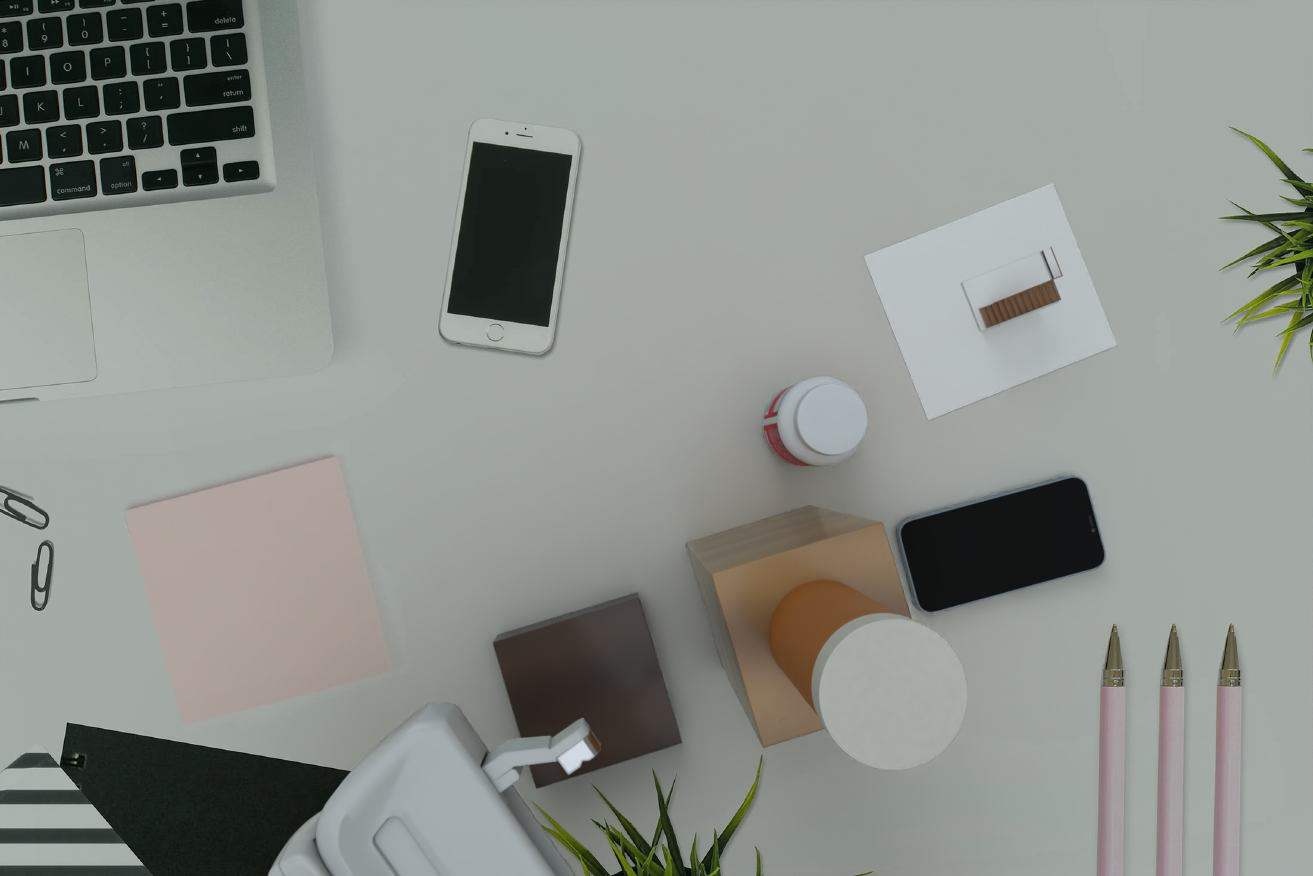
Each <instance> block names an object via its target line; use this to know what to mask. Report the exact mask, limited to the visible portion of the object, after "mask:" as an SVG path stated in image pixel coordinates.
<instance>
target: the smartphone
mask: <svg viewBox="0 0 1313 876" xmlns="http://www.w3.org/2000/svg"><path fill="white" fill-rule="evenodd" d="M895 533H896V534H895V535H896V539H897V543H898V547H899V551H900V554H901V559H902V562H903V566H904V570H905V573H906V577H907V580H908V585H909V589H910V592H911V596H912V599H913V602H914V605H915V606H916V607H917V609H919V610H920V611H922V612H924V613H926V614H937V613H941V612H944V611H948V610H951V609H955V608H956V609H957V608H959V607H963V606H967V605H970V604H973V603H977V602H982V601H985V600H989V599H992V598H996V597H999V596H1004V595H1007V594H1011V593H1015V592H1018V591H1022V590H1025V589H1029V588H1032V587H1036V586H1040V585H1043V584H1047V583H1051V582H1054V581H1059V580H1063V579H1065V578H1070V577H1073V576H1076V575H1081V574H1085V573H1088V572H1092V571H1095V570H1098V569H1100V568H1101V567H1102V566H1103V565H1104V564H1105V562H1106V558H1107V552H1106V551H1107V550H1106V546H1105V544H1104V540H1103V536H1102V533H1101V528H1100V526H1099V522H1098V517H1097V514H1096V511H1095V507H1094V503H1093V500H1092V496H1091V492H1090V489H1089V486H1088V483H1087V482H1086V480H1085V479H1083V478H1082V477H1081V476H1078V475H1065V476H1062V477H1058V478H1054V479H1050V480H1046V481H1042V482H1038V483H1035V484H1032V485H1031V484H1030V485H1028V486H1024V487H1020V488H1016V489H1013V490H1008V491H1006V492H1001V493H998V494H994V495H991V496H990V495H989V496H987V497H982V498H979V499H975V500H972V501H971V500H970V501H969V502H965V503H960V504H957V505H954V506H949V507H945V508H942V509H938V510H934V511H931V512H926V513H923V514H919V515H916V516H912V517H908V518H906V519H903V520H902V521H901V522H899V524H898V526H897V528H896V532H895Z"/></svg>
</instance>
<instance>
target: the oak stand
mask: <svg viewBox="0 0 1313 876" xmlns="http://www.w3.org/2000/svg"><path fill="white" fill-rule="evenodd" d="M685 547H686V551H687V553H688V557H689V560H690V563H691V566H692V569H693V573H694V576H695V580H696V583H697V586H698V590H699V593H700V596H701V599H702V603H703V607H704V609H705V612H706V613H705V614H706V617H707V620H708V623H709V626H710V627H709V628H710V630H711V633H712V636H713V640H714V643H715V647H716V650H717V653H718V657H719V660H720V663H721V667H722V669H723V672H724V674H725V676H726V677H727V679H728V681H729V684H730V685H731V688H732V690H733V691H734V693H735V695H736V697H737V700H738V701H739V704H740V706H741V708H742V709H743V711H744V713H745V715H746V718H747V719H748V721H749V723H750V725H751V727H752V729H753V731H754V733H755V735H756V737H757V739H758V741H759V743H760V745H761V747H762V748H763V749H765V748H769V747H772V746H775V745H778V744H779V745H780V744H782V743H784V742H788V741H790V740H794V739H796V738H800V737H803V736H806V735H810V734H813V733H817V732H819V731H823V730H825V728H824V727H823V725H822V724H821V722H820V720H819V718H818V716H817V714H816V713H815V712H814V711H813V709H812V708H811V707H810V706H809V704H808V703H807V702H806V700H805V699H804V698H803V697H802V695H801V694H800V693H799V691H798V690H797V689H796V688H795V686H794V685H793V684H792V682H791V681H790V680H789V679H788V677H787V676H786V675H785V674H784V672H783V671H782V670H781V668H780V667H779V665H778V664H777V662H776V660H775V658H774V656H773V653H772V651H771V646H770V639H769V631H770V624H771V620H772V617H773V614H774V612H775V610H776V608H777V606H778V605H779V603H780V602H781V601H782V599H783V598H784V597H785V596H786V595H787V594H788V593H789V592H791V591H792V590H794V589H795V588H797V587H799V586H800V585H803V584H805V583H808V582H812V581H819V580H828V581H835V582H838V583H842V584H844V585H846V586H848V587H850V588H852V589H854V590H856V591H858V592H859V593H861V594H863V595H865V596H867V597H869V598H870V599H872V600H874V601H876V602H878V603H880V604H881V605H883V606H885V607H887V608H889V609H891V610H892V611H894V612H896V613H898V614H900V615H902V616H905V617H908V618H911V619H913V618H912V614H911V611H910V608H909V605H908V602H907V601H908V600H907V598H906V594H905V591H904V588H903V585H902V581H901V578H900V574H899V571H898V568H897V565H896V562H895V561H896V560H895V558H894V555H893V551H892V548H891V544H890V542H889V539H888V535H887V532H886V528H885V524H884V522H883V521H880V520H876V519H872V518H867V517H863V516H859V515H854V514H850V513H846V512H841V511H837V510H834V509H828V508H824V507H821V506H816V505H812V504H809V505H805V506H803V507H799V508H795V509H793V510H790V511H785V512H783V513H779V514H775V515H772V516H769V517H767V518H763V519H759V520H755V521H753V522H749V523H746V524H743V525H740V526H737V527H733V528H730V529H726V530H723V531H719V532H716V533H714V534H709V535H707V536H704V537H703V536H702V537H700V538H697V539H694V540H691V541H687V542H686V543H685Z"/></svg>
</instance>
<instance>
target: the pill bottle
mask: <svg viewBox="0 0 1313 876" xmlns="http://www.w3.org/2000/svg"><path fill="white" fill-rule="evenodd" d="M761 419H762V421H761V432H762V437H763V439H764V442H765V444H766V447H767V448H768V450H769V451H770V452H771V454H773V455H774V456H775V457H776V458H777V459H779V460H780V461H782V462H784V463H785V464H788V465H790V466H791V465H792V466H796V467H828V466H829V467H830V466H833V465H836V464H840V463H842V462H844V461H845V460H848V459H849V458H850V457H852V455H854V454H855V453H856V452H857V450H858V449H859V448H860V446H861V445H862V443H863V441H864V438H865V436H866V432H867V429H868V424H869V418H868V411H867V407H866V405H865V403H864V401H863V400H862V398H861V397H860V395H859V394H858V392H857V391H856V390H855V389H854V388H853V387H852V386H851V385H850V384H848V383H847V382H846V381H843V380H840V379H838V378H836V377H833V376H827V375H826V376H825V375H821V376H812V377H808V378H805V379H803V380H801V381H799V382H797V383H795V384H792V385H790V386H788V387H786V388H784V389H782V390H781V391H779V392H778V393H777V394H775V395H774V396H773V397H772V398H771V399H770V400H769V402H768V403H767V405H766V407H765V409H764V412H763V414H762V418H761Z"/></svg>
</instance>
